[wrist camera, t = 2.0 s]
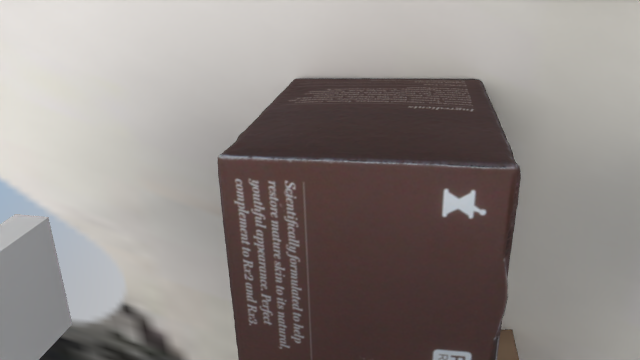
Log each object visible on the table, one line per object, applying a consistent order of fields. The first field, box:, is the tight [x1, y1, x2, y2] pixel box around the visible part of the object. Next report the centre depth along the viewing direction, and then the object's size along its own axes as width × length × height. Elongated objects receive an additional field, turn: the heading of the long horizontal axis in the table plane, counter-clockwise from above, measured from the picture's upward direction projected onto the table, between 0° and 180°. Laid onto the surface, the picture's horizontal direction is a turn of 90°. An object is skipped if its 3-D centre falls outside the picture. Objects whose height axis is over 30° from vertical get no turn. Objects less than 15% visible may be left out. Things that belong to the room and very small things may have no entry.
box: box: [218, 79, 521, 360], centre depth 15 cm, size 6×6×7 cm
